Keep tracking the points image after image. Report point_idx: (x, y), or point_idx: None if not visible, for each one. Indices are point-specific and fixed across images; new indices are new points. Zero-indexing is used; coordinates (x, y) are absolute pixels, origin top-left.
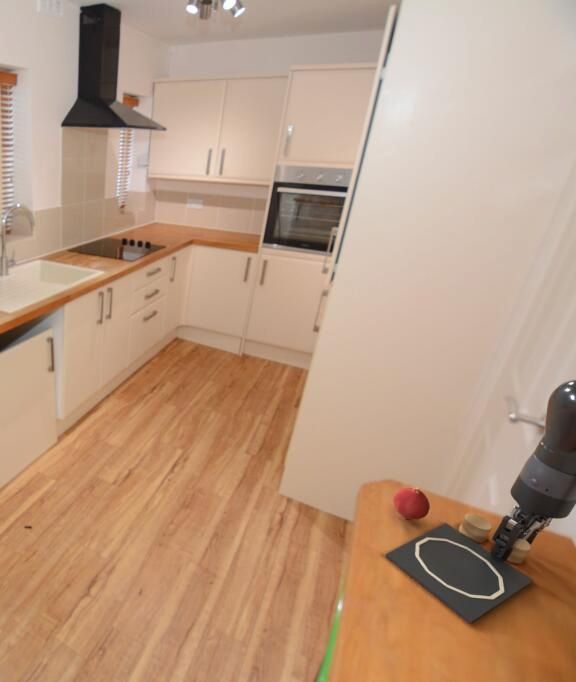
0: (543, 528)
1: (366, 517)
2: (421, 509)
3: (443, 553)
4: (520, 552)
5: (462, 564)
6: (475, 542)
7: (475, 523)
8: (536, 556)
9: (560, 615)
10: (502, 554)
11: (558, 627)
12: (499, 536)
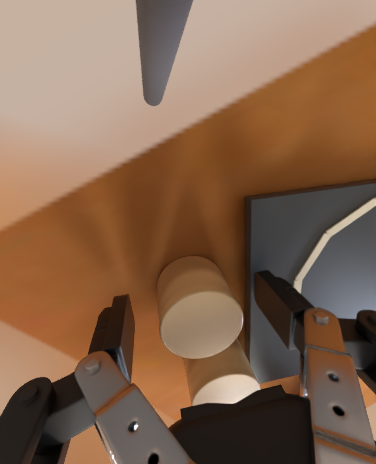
0: (144, 397)
1: (367, 404)
2: None
3: None
4: (224, 286)
5: (361, 286)
6: (251, 331)
7: (247, 394)
8: (109, 261)
9: (299, 85)
10: (298, 292)
11: (355, 60)
12: (367, 370)
